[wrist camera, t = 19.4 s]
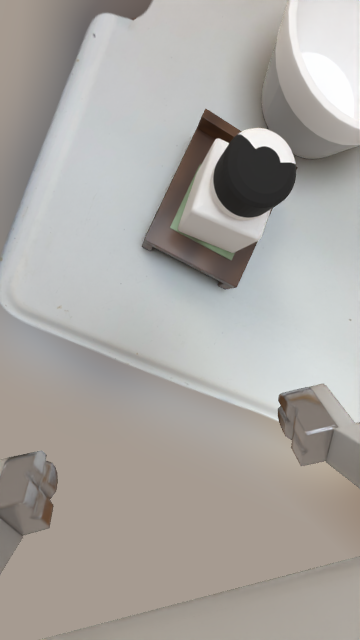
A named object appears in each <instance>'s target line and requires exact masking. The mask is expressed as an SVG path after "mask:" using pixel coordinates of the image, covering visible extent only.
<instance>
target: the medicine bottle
mask: <svg viewBox="0 0 360 640" xmlns="http://www.w3.org/2000/svg"><path fill="white" fill-rule="evenodd" d="M295 178H296V164H295V159H294V156H293V153H292V151H291V149H290V147H289V145H288V144H287V143H286V141H285V140H284V139H283V138H282V137H280V136H279V135H278V134H276V133H274V132H272V131H270V130H267V129H263V128H251V129H247V130H244V131H242V132H240V133H239V134H237V135H236V136H235V137H234V138H233V139H232V140H231V142H230V143H228V142H226V141H224V140H222V139H219V138H217V139H216V140H215V141H214V143H213V144H212V146H211V148H210V150H209V152H208V154H207V155H206V157H205V159H204V161H203V163H202V164H201V166H200V168H199V170H198V172H197V174H196V177H195V179H194V182H193V185H192V188H191V191H190V194H189V197H188V200H187V203H186V206H185V208H184V211H183V214H182V217H181V220H180V223H179V226H178V230H179V231H180V232H182V233H184V234H187V235H189V236H192V237H194V238H197V239H199V240H201V241H204V242H206V243H209V244H211V245H214V246H216V247H219V248H221V249H223V250H226V251H228V252H231V253H234V252H236V251H238V250H240V249H242V248H245V247H247V246H249V245H251V244H253V243H255V242H257V241H259V240H260V239H261V238H262V235H263V232H264V229H265V226H266V223H267V220H268V217H269V214H270V211H271V209H272V208H273V207H275V206H276V205H278V204H279V203H281V202H282V201H283V200H284V199H285V198H286V197H287V196H288V195H289V193H290V192H291V190H292V188H293V186H294V183H295Z"/></svg>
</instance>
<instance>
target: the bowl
mask: <svg viewBox="0 0 360 640" xmlns="http://www.w3.org/2000/svg"><path fill="white" fill-rule="evenodd" d="M261 100H262V110H263V115H264V119H265V121H266V124H267V126H268V129H269V130H270V131H272V132H274V133H276V134H278V135H279V136H280V137H282V138H283V139H284V140H285V141H286V143H287V144H288V145H289V147H290V149H291V151H292V153H293V154H294V155H296V156H299V157H303V158H307V159H318V158H324V157H327V156H330V155H333V154H336V153H339V152H342V151H345V150H348V149H350V148H353V147H356V146H359V145H360V0H288V1H287V4H286V8H285V11H284V14H283V18H282V21H281V25H280V28H279V31H278V35H277V39H276V43H275V46H274V50H273V53H272V56H271V60H270V63H269V66H268V70H267V73H266V77H265V80H264V83H263V88H262V95H261Z"/></svg>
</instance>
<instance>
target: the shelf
mask: <svg viewBox="0 0 360 640" xmlns="http://www.w3.org/2000/svg"><path fill="white" fill-rule="evenodd" d="M240 132H242V131H240V130H238V129H237V128H235V127H234V126H232V125H231V124H229V123H227V122H226V121H224V120H223V119H221V118H220V117H218V116H217V115H215V114H213V113H212V112H210V111H209V110H207V109H205V111H204V113H203V115H202V117H201V120H200V122H199V124H198V127H197V129H196V131H195V133H194V135H193V137H192V140H191V142H190V144H189V146H188V148H187V150H186V152H185V154H184V156H183V159H182V161H181V163H180V165H179V167H178V169H177V171H176V173H175V175H174V177H173V180H172V182H171V184H170V186H169V188H168V190H167V192H166V194H165V196H164V198H163V201H162V203H161V205H160V207H159V209H158V211H157V213H156V215H155V217H154V220H153V222H152V224H151V226H150V228H149V230H148V232H147V234H146V236H145V238H144V241H143V244H142V247H143V248H145V249H147V250H149V251H151V249H152V247H154V248H156V249H158V250H160V251H162V252H164V253H166V254H168V255H170V256H172V257H174V258H176V259H178V260H180V261H181V262H183V263H185V264H187V265H189V266H191V267H193V268H195V269H197V270H199V271H201V272H203V273H205V274H207V275H209V276H211V277H212V278H214V279H216V280H218V281H219V283H218V286H219V287H221V288H223V289H230V288H236V287H237V285H238V283H239V281H240V279H241V277H242V274H243V272H244V270H245V268H246V266H247V263H248V261H249V259H250V257H251V255H252V252H253V250H254V248H255V246H256V244H257V242H258V241H257V242H255V243H253V244H251V245H249V246H247V247H245V248H242V249H240V250H238V251H236V252H234V253H231V252H228V251H226V250H223V249H221V248H219V247H216V246H214V245H211V244H209V243H206V242H204V241H201V240H199V239H197V238H194V237H192V236H189V235H187V234H184V233H182V232H180V231H179V230H178V226H179V223H180V220H181V217H182V214H183V211H184V208H185V206H186V203H187V200H188V197H189V194H190V191H191V188H192V185H193V182H194V179H195V177H196V174H197V172H198V170H199V168H200V166H201V164H202V163H203V161H204V159H205V157H206V155H207V154H208V152H209V150H210V148H211V146H212V144H213V143H214V141H215V140H216V139H217V138H219V139H222V140H224V141H226V142H228V143H230V142H231V140H232V139H233V138H234V137H235V136H236V135H237V134H239V133H240ZM296 170H297V167H296ZM272 209H273V208H272ZM272 209H271V211H272ZM271 211H270V213H271ZM269 215H270V214H269Z"/></svg>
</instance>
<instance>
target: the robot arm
mask: <svg viewBox="0 0 360 640" xmlns="http://www.w3.org/2000/svg"><path fill="white" fill-rule="evenodd" d="M278 401H279V403H280V405H281V406H280V407H279V408H278V418H279V423H280V425H281V428H282V430H283V432H284V434H285V436H287V437H288V438H289V439H291V440H292V446H291V448H292V450H293V452H294V454H295V456H296V458H297V459H298V461H299V463H300V465H301V466H305V465H309V464H314V463H319V462H324V461H326V463H328V464H329V465H330V466H331V467H333V468H334V469H335V470H337V471H338V472H339V473H341V474H342V475H343V476H345V477H346V478H347V479H348V480H349V481H351V482H352V483H353V484H354V485H356V486H357V487H358V488H360V422H359V423H355V422H354V421H353V420H352V418H351V417H350V416H349V414H348V413H347V412H346V411H345V409H344V408H343V407H342V405H341V404H340V403H339V402H338V400H337V399H336V398H335V396H334V395H333V394H332V392H331V391H330V390H329V389H328V387H327V386H326V385H324V384H318V385H315V386H311V387H305V388H301V389H297V390H293V391H289V392H285V393H281V394H280V395H279V399H278ZM57 483H58V479H57V471H56V468H55V466H54V465H53V463H51V462H48V461H46V454H45V453H44V452H43V451H37V452H32V453H27V454H23V455H18V456H14V457H9V458H4V459H0V574H1V572H2V571H3V569H4V568H5V566H6V564H7V563H8V561H9V559H10V557H11V556H12V555H13V553H14V551H15V550H16V548H17V546H18V545H19V543H20V542H21V540H22V538H23V535H27V534H30V533H34V532H38V531H41V530H45V529H48V528H50V522H51V517H52V511H53V504H52V502H51V500H50V499H51V498H52V496H53V495H54V493H55V492H56V489H57ZM40 640H360V556H359V557H355V558H351V559H348V560H343V561H340V562H336V563H332V564H328V565H325V566H320V567H316V568H313V569H309V570H305V571H301V572H298V573H293V574H290V575H286V576H282V577H278V578H274V579H270V580H267V581H263V582H259V583H255V584H251V585H248V586H244V587H240V588H236V589H232V590H229V591H225V592H221V593H217V594H213V595H209V596H205V597H201V598H197V599H194V600H190V601H186V602H182V603H178V604H175V605H171V606H167V607H163V608H159V609H156V610H151V611H148V612H144V613H140V614H136V615H133V616H128V617H125V618H121V619H117V620H113V621H109V622H106V623H102V624H98V625H94V626H90V627H87V628H83V629H79V630H75V631H71V632H67V633H63V634H59V635H56V636H52V637H48V638H44V639H40Z"/></svg>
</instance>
